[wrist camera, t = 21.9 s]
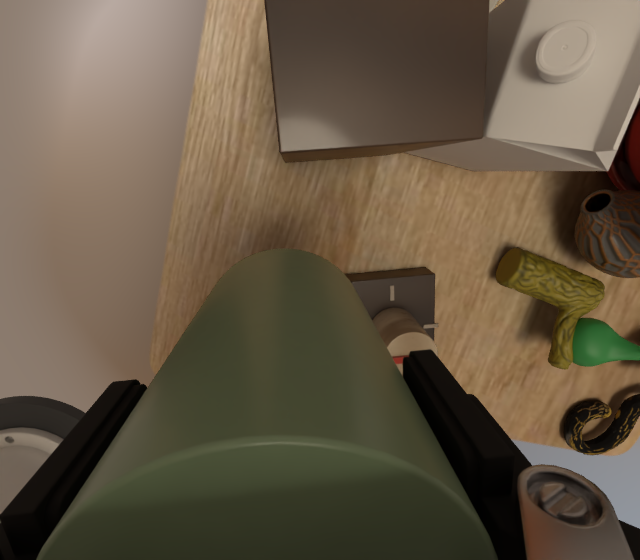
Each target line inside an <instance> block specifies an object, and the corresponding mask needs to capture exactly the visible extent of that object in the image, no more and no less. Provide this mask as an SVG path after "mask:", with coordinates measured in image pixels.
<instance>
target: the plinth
mask: <svg viewBox="0 0 640 560" xmlns="http://www.w3.org/2000/svg"><path fill="white" fill-rule="evenodd" d="M489 1H490V0H265V11H266V21H267V31H268V41H269V51H270V61H271V71H272V81H273V91H274V102H275V112H276V122H277V132H278V142H279V152H280V154H281V155H282V157H283V159H284V161H285V162H286V163H289V162H302V161H315V160H328V159H342V158H355V157H368V156H382V155H390V154H396V153H402V152H408V151H414V150H420V149H425V148H431V147H437V146H443V145H449V144H455V143H461V142H466V141H472V140H478V139H482V138H483V126H484V106H485V85H486V64H487V43H488V22H489Z"/></svg>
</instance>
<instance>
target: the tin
mask: <svg viewBox="0 0 640 560" xmlns="http://www.w3.org/2000/svg"><path fill="white" fill-rule="evenodd" d="M36 560H498V557H497V555H496V552H495V549H494V547H493V544H492V541H491V539H490V536H489V534H488V532H487V531H486V529H485V527H484V525H483V523H482V521H481V520H480V518H479V516H478V514H477V512H476V510H475V509H474V507H473V505H472V503H471V501H470V499H469V497H468V496H467V494H466V492H465V490H464V488H463V486H462V485H461V483H460V481H459V479H458V477H457V475H456V474H455V472H454V470H453V468H452V466H451V464H450V463H449V461H448V459H447V457H446V455H445V453H444V452H443V450H442V448H441V446H440V444H439V442H438V441H437V439H436V437H435V435H434V433H433V431H432V429H431V428H430V426H429V424H428V422H427V420H426V418H425V417H424V415H423V413H422V411H421V409H420V407H419V406H418V404H417V402H416V400H415V398H414V396H413V395H412V393H411V391H410V389H409V387H408V385H407V384H406V382H405V380H404V378H403V376H402V374H401V373H400V371H399V369H398V367H397V365H396V363H395V361H394V360H393V358H392V356H391V354H390V352H389V350H388V349H387V347H386V345H385V343H384V341H383V339H382V338H381V336H380V334H379V332H378V330H377V328H376V327H375V325H374V323H373V321H372V319H371V317H370V316H369V314H368V312H367V310H366V308H365V306H364V305H363V303H362V301H361V299H360V297H359V295H358V293H357V292H356V290H355V288H354V287H353V285H352V283H351V282H350V280H349V279H348V278H347V277H346V275H345V274H344V273H343V272H342V271H341V270H340V269H339V268H338V267H336V266H335V265H334V264H332V263H331V262H329V261H328V260H326V259H324V258H322V257H320V256H318V255H315V254H313V253H310V252H306V251H302V250H297V249H272V250H266V251H262V252H259V253H255V254H253V255H251V256H248V257H246V258H244V259H243V260H241V261H239V262H238V263H236V264H235V265H234V266H232V267H231V268H230V269H229V270H228V271H227V272H226V273H225V274H224V275H223V276H222V277H221V278H220V279H219V281H218V282H217V284H216V285H215V287H214V288H213V290H212V291H211V293H210V294H209V296H208V297H207V299H206V300H205V302H204V303H203V305H202V306H201V308H200V309H199V311H198V312H197V314H196V315H195V317H194V318H193V320H192V321H191V323H190V324H189V326H188V327H187V329H186V330H185V332H184V334H183V335H182V337H181V338H180V340H179V341H178V343H177V344H176V346H175V347H174V349H173V350H172V352H171V353H170V355H169V356H168V358H167V359H166V361H165V362H164V364H163V365H162V367H161V368H160V370H159V371H158V373H157V374H156V376H155V377H154V379H153V381H152V382H151V383H150V385H149V387H148V388H147V390H146V391H145V393H144V394H143V396H142V397H141V399H140V400H139V402H138V403H137V405H136V406H135V408H134V409H133V411H132V412H131V414H130V415H129V417H128V418H127V420H126V421H125V423H124V424H123V426H122V427H121V429H120V430H119V432H118V433H117V435H116V436H115V438H114V440H113V441H112V443H111V444H110V446H109V447H108V449H107V450H106V452H105V453H104V455H103V456H102V458H101V459H100V461H99V462H98V464H97V465H96V467H95V468H94V470H93V471H92V473H91V474H90V476H89V477H88V479H87V480H86V482H85V483H84V485H83V486H82V488H81V489H80V491H79V493H78V494H77V496H76V497H75V499H74V500H73V502H72V503H71V505H70V506H69V508H68V509H67V511H66V512H65V514H64V515H63V517H62V518H61V520H60V521H59V523H58V524H57V526H56V527H55V529H54V530H53V532H52V533H51V535H50V536H49V538H48V539H47V541H46V542H45V544H44V546H43V547H42V549H41V551H40V553H39V555H38V557H37V559H36Z"/></svg>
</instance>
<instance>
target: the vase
mask: <svg viewBox="0 0 640 560" xmlns="http://www.w3.org/2000/svg"><path fill="white" fill-rule="evenodd" d="M575 240H576V244H577V247H578V249H579V251H580V253H581V254H582V256H583V257H584V258H585V259H586V260H587V261H588V262H589V263H590V264H591V265H592V266H594V267H595V268H596V269H598V270H600V271H602V272H604V273H606V274H609V275H612V276H616V277H622V278H638V277H640V191H635V190H621V191H611V190H598V191H596V192H593V193H591V194H590V195H588V196H587V197H586V198H585V199H584V200H583V202H582V204H581V213H580V215H579V217H578V219H577V222H576V225H575Z"/></svg>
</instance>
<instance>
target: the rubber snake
mask: <svg viewBox="0 0 640 560" xmlns="http://www.w3.org/2000/svg"><path fill="white" fill-rule="evenodd" d="M610 415H611V408H610V407H609V406H608V405H607V404H605V403H603V402H600V401H589V402H583V403H582V404H580V405H579V406H578V407H576V408H575V409H574V410H572V411H571V412H570V413H569V416H568V418H567V420H566V423H565V427H564V437H565V440H566V443H567V444H568V445H569V446H570V447H571V448H573V449H574V450H576V451H577V452H580V453H583V454H587V455H599V454H602V453H606V452H608V451H609V450H611V449H613V448H615V447H617V446H618V445H619V444H621V443H622V442H624V440H625V439H626V438H627V437H628V436H629V434H630V433H631V431H632V429H633V427H634V425H635V424H636V422H637V419H638V417H639V416H640V394H637V395H633V396H631V397H629V398H628V399H626V400H624V401H623V403H622V404H621V406H620V407H619V409H618V412H617V413H616V414H615V417H614V420H613V422H612V423H611V425H610V426H609V427H608V428H607V430H606V431H605V432H604V433H602V434H601V435H599V436H598V437H596V438H594V439H591V440H588V441H583V439H582V429H583V427H584V425H585V424H586V423H587V422H588V421H590V420H593V419H596V418H606V417H609V416H610Z"/></svg>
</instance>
